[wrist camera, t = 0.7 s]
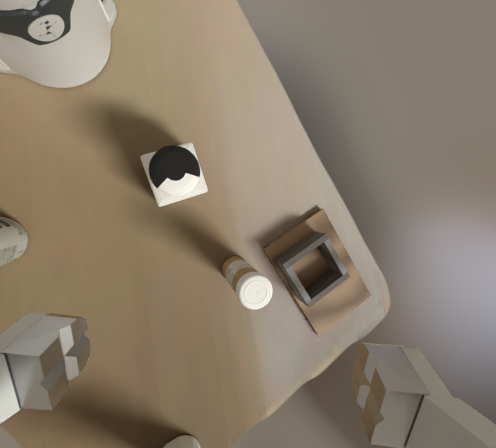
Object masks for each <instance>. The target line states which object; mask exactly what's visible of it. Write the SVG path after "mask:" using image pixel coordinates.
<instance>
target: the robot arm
mask: <svg viewBox="0 0 496 448" xmlns="http://www.w3.org/2000/svg"><path fill="white" fill-rule="evenodd" d="M116 16H117V9H116V6H115V4H114V2H113V1H112V0H103V2H101V0H0V72H3V73H12V74H18V75H21V76H24V77H26V78H28V79H30V80H32V81H34V82H36V83H39V84H42V85H45V86H50V87H57V88H68V87H74V86H78V85H81V84H84V83H86V82H88V81H90V80H91V79H93V78H94V77H95V76H96V75H97V74H99V72H100V71H101V70H102V69H103V67H104V66H105V64H106V62H107V60H108V57H109V53H110V46H111V38H110V33H111V27H112V25H113V23H114V21H115V19H116ZM87 329H88V327H87V322H86V319H85V318H83V317H79V316H70V315H62V314H53V313H50V314H49V313H42V312H31V313H28V314H26V315H25V316H24V317H23V318H21V319H20V320H19V321H17V322H16V323H15V324H13V325H12V326H11V327H10V328H8V329H7V330H6V331H4V332H3V333H2V334H1V335H0V423H2V422H3V421H5V420H6V419H8V418H9V417H11V416H12V415H13V414H15V413H16V412H18V411H19V410H20V408H27V409H41V410H53V408H54V407H55V406H56V404H57V403H58V402H59V400H60V399H61V398H62V396H63V395H64V394H65V393H66V391H67V390H68V389H69V380H71V379H72V378H74V377H76V376H77V375H79V374H80V373H81V371H82V370H83V369H84V367H85V366H86V363H87V361H88V358H89V356H90V349H91V346H90V340H89V339H88V338H87V337H86V336H85V335H84V333H85V331H86V330H87ZM357 356H358V358H359V362H358V363H356V364H355V365H354V367H353V372H352V387H353V393H354V396H355V399H356V402H357V403H358V404H359V405H360V406H361V407H362V408H363V409H364V410H363V414H362V421H363V424H364V426H365V429H366V433H367V436H368V439H369V441H370V444H375V445H382V446H389V447H396V448H496V425H495V424H494V423H493V422H491V421H490V420H488V419H487V418H486V417H484V416H483V415H481V414H480V413H479V412H477V411H476V410H474V409H473V408H472V407H470V406H469V405H468V404H466V403H465V402H463V401H462V400H461V399H458V398H453V397H452V396H451V394H450V393H449V392H448V390H447V388H446V387H445V386H444V384H443V383H442V381H441V380H440V378H439V377H438V376H437V374H436V373H435V371H434V370H433V369H432V367H431V366H430V364H429V363H428V361H427V360H426V358H425V357H424V356H423V354H422V353H421V351H420V350H419V349H418V348H416V347H413V346H400V345H397V346H395V345H383V344H371V343H360V345H359V347H358V351H357Z"/></svg>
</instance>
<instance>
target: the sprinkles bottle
mask: <svg viewBox="0 0 496 448" xmlns="http://www.w3.org/2000/svg"><path fill="white" fill-rule="evenodd" d="M222 270H223V275H224V276H225V278H226V279H227V281H228V283H229V284H230V286H231V287H232V289H233V290H234V292H235V293H236V295H237V297H238V299H239V301H240V302H241V303H242V304H243V305H244V306H245V307H246V308H249V309H260V308H262V307H264V306H265V305H266V304H267V303H268V302H269V301H270V299H271V296H272V285H271V283H270V281H269V280H268V279H267V278H266V277H265V276H264V275H263V274H261V273H259V272H258V271H257V270H255V269H254V268H253V267H252V266H251V265H250V264H248V263H247V262H246V261H245V260H244V259H243V258H241V257H238V256H234V257H231V258H229V259H227V260H226V261H225V263H224V265H223V269H222Z"/></svg>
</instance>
